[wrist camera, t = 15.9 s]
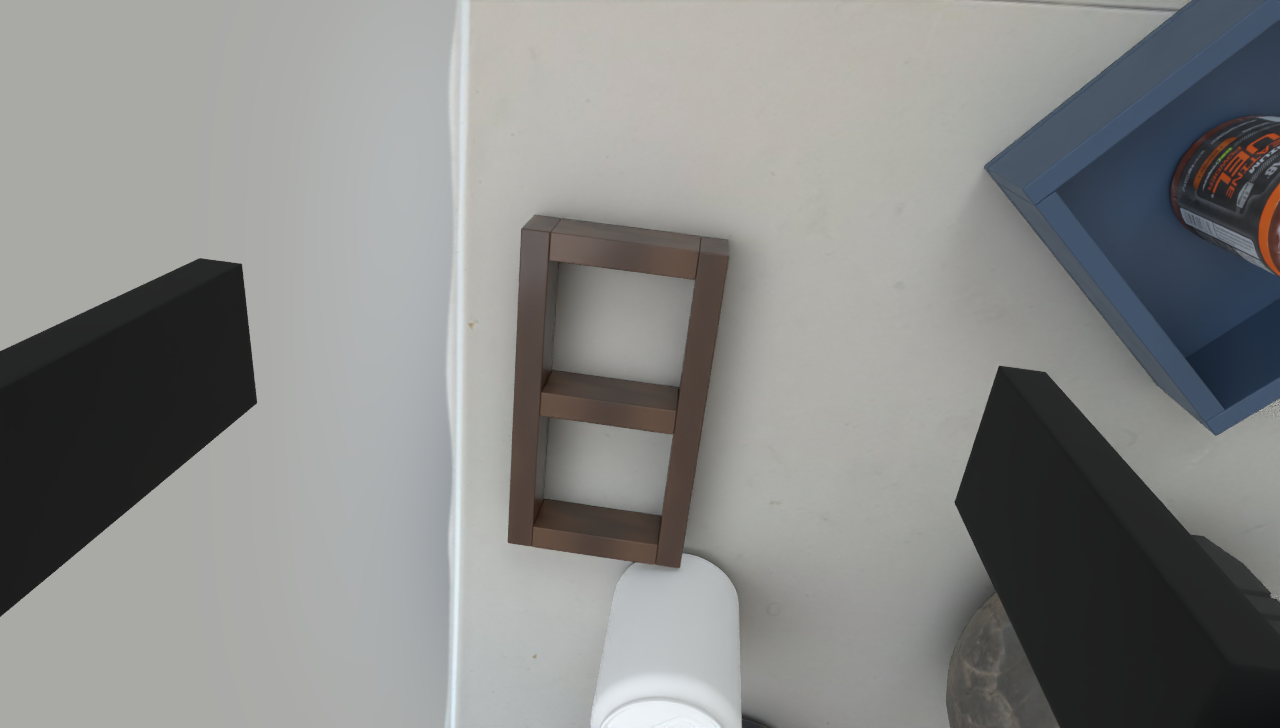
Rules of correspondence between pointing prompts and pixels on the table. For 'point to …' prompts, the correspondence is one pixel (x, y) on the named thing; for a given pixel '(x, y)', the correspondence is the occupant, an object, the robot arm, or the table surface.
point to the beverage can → (671, 650)
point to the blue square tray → (1162, 205)
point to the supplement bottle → (1234, 189)
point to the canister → (750, 724)
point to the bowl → (994, 677)
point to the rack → (608, 388)
